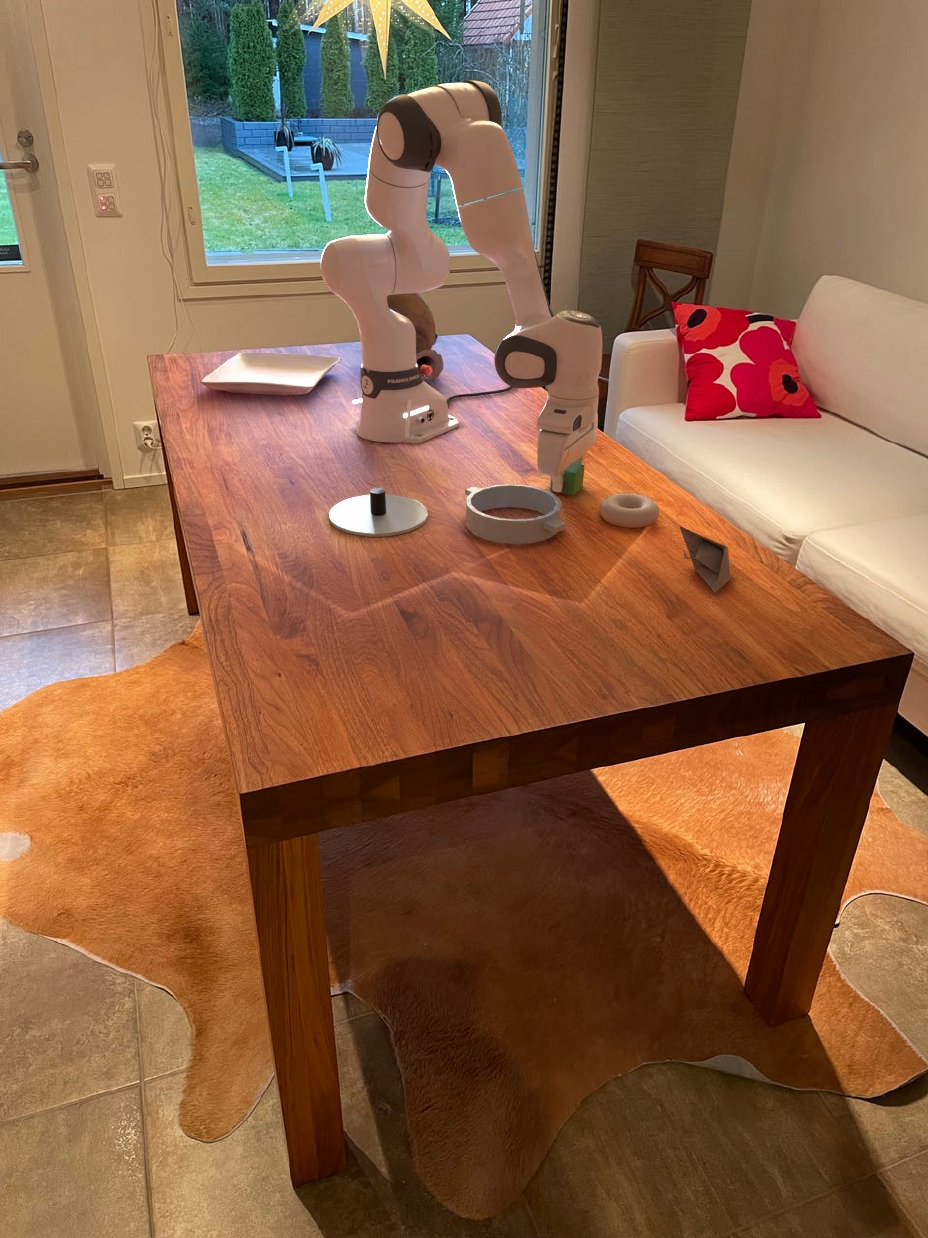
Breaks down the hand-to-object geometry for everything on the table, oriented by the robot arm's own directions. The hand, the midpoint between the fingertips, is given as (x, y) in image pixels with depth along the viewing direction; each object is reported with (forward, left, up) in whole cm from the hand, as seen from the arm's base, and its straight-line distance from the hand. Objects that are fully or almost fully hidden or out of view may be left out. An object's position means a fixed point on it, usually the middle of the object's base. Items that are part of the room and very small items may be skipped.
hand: (566, 483), depth 168 cm
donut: (+2, +16, -2) cm, 16 cm away
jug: (-31, -83, -2) cm, 89 cm away
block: (0, 0, -1) cm, 1 cm away
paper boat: (+10, +36, -2) cm, 37 cm away
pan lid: (+34, -12, -1) cm, 36 cm away
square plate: (+2, -94, -2) cm, 94 cm away
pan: (+19, +5, -1) cm, 20 cm away
